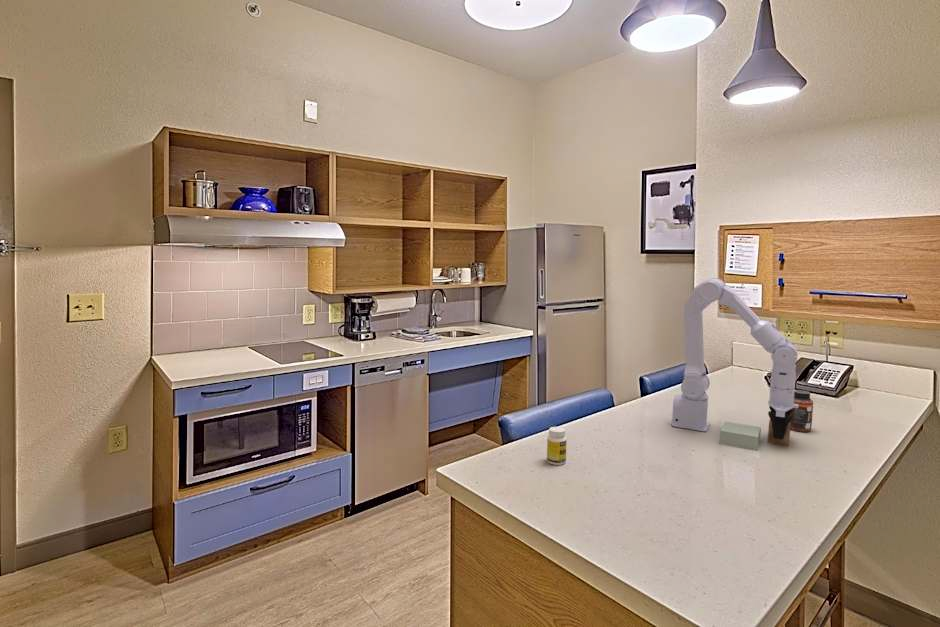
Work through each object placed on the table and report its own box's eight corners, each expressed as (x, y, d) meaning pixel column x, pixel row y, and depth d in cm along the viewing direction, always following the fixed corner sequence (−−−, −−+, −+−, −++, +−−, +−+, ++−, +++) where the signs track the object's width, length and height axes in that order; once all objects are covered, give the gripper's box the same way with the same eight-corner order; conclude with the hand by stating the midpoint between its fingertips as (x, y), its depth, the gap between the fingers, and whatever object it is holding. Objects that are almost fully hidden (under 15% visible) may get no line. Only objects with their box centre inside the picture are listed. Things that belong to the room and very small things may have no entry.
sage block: (719, 444, 144) (720, 430, 144) (724, 434, 152) (725, 421, 151) (756, 451, 139) (757, 437, 139) (759, 441, 147) (760, 427, 146)
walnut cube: (767, 442, 145) (768, 424, 144) (768, 436, 149) (769, 419, 149) (788, 445, 142) (790, 427, 142) (789, 439, 147) (790, 422, 146)
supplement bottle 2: (814, 433, 152) (818, 394, 150) (791, 431, 153) (794, 393, 151) (806, 426, 157) (809, 389, 156) (784, 425, 159) (786, 388, 157)
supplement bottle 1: (561, 467, 129) (562, 433, 128) (543, 462, 132) (544, 430, 131) (568, 460, 133) (569, 428, 132) (551, 456, 136) (552, 424, 135)
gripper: (800, 395, 136) (795, 446, 137) (799, 383, 148) (795, 429, 150) (768, 391, 139) (764, 441, 141) (770, 379, 152) (767, 425, 153)
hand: (778, 435), depth 146 cm, fingers closed on walnut cube, 5 cm apart
